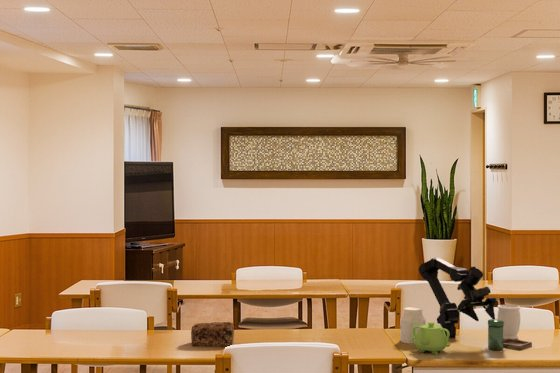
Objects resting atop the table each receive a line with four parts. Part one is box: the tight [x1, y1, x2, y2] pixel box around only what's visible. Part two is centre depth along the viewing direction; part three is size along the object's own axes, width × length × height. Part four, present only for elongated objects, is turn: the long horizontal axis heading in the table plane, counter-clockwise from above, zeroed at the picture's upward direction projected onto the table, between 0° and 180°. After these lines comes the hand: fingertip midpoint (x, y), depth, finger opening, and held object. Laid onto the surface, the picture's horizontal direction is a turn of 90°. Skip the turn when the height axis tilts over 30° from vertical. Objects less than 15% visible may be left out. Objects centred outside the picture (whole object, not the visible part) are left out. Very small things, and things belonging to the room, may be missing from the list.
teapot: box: [412, 321, 451, 355], centre depth 349 cm, size 16×14×13 cm
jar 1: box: [399, 306, 427, 345], centre depth 370 cm, size 12×10×15 cm
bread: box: [190, 321, 235, 347], centre depth 363 cm, size 19×11×10 cm, turn 88°
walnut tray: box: [503, 339, 533, 351], centre depth 358 cm, size 11×11×2 cm
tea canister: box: [487, 318, 504, 352], centre depth 351 cm, size 7×7×12 cm
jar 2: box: [496, 304, 521, 340], centre depth 378 cm, size 11×10×15 cm
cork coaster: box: [484, 347, 507, 353], centre depth 351 cm, size 9×9×1 cm
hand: (486, 320), depth 357 cm, fingers open, 9 cm apart
